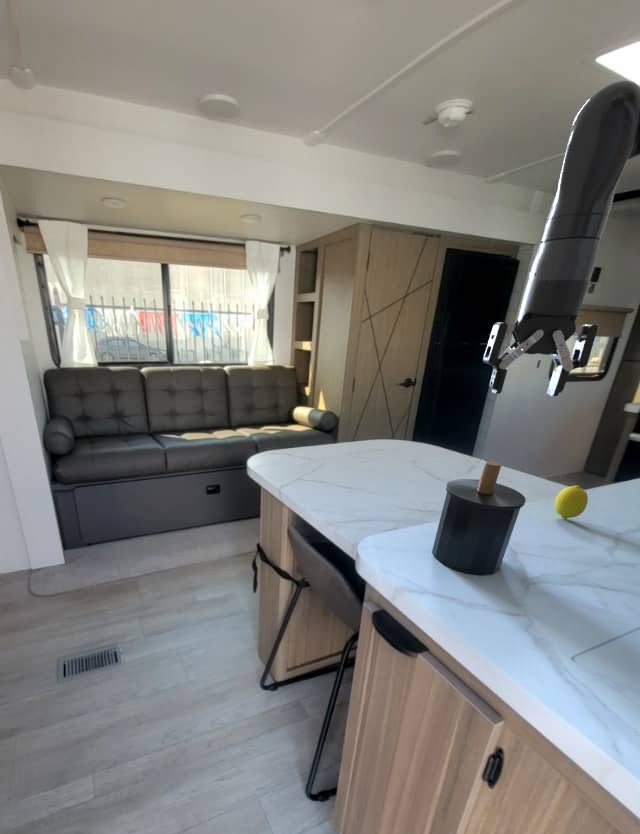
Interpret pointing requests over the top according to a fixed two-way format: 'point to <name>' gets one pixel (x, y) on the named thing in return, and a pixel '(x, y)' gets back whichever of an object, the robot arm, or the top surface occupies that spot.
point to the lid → (486, 490)
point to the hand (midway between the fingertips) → (523, 394)
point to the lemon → (571, 502)
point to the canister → (473, 537)
